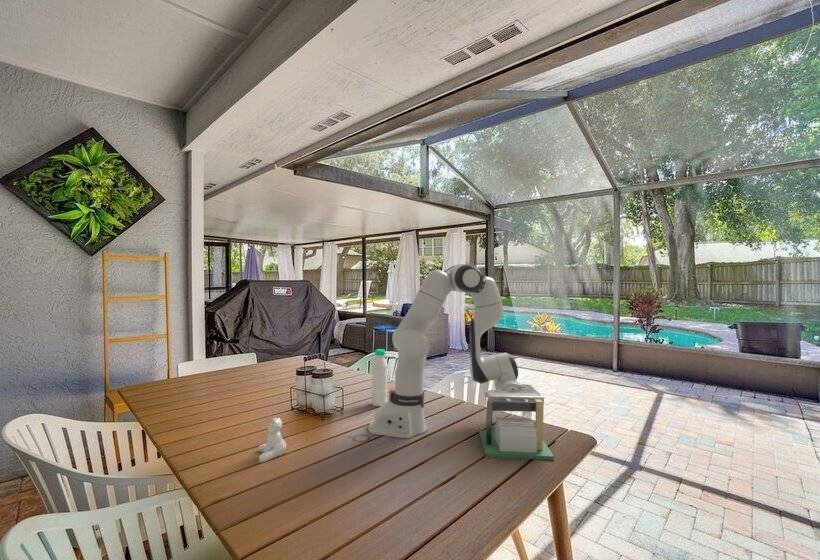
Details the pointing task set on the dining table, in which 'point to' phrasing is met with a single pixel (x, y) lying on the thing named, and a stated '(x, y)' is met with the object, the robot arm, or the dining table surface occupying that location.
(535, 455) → the board
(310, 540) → the dining table surface
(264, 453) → the white creature statuette
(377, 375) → the water bottle
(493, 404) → the retention bar
